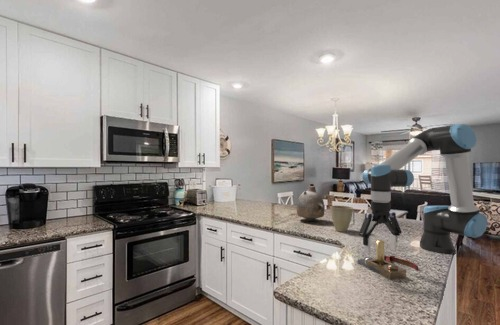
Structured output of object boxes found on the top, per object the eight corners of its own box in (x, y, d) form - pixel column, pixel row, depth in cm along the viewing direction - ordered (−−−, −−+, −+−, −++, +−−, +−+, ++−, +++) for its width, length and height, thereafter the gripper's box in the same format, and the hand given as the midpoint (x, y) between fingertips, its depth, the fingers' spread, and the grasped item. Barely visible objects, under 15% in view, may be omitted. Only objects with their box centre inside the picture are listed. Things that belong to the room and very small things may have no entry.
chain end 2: (380, 265, 114) (380, 256, 114) (406, 277, 101) (406, 267, 102) (365, 267, 111) (365, 257, 112) (390, 279, 99) (390, 269, 99)
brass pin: (380, 268, 111) (380, 239, 111) (385, 270, 108) (386, 241, 108) (374, 268, 110) (374, 240, 110) (380, 271, 107) (380, 242, 107)
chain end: (372, 261, 119) (372, 255, 119) (395, 272, 106) (395, 266, 106) (357, 262, 116) (357, 257, 116) (379, 274, 104) (379, 268, 104)
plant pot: (349, 234, 166) (349, 209, 166) (326, 230, 175) (326, 207, 175) (355, 230, 178) (355, 206, 178) (334, 226, 186) (334, 204, 187)
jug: (290, 221, 203) (290, 183, 204) (301, 217, 221) (301, 182, 221) (320, 225, 189) (321, 184, 190) (330, 220, 207) (330, 183, 207)
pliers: (389, 255, 129) (389, 249, 129) (420, 271, 109) (420, 265, 109) (367, 255, 128) (367, 250, 128) (394, 272, 108) (394, 266, 108)
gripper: (396, 199, 117) (396, 246, 116) (349, 200, 109) (349, 251, 109) (411, 201, 109) (411, 251, 109) (362, 203, 102) (362, 257, 102)
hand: (380, 251), depth 109 cm, fingers open, 13 cm apart
